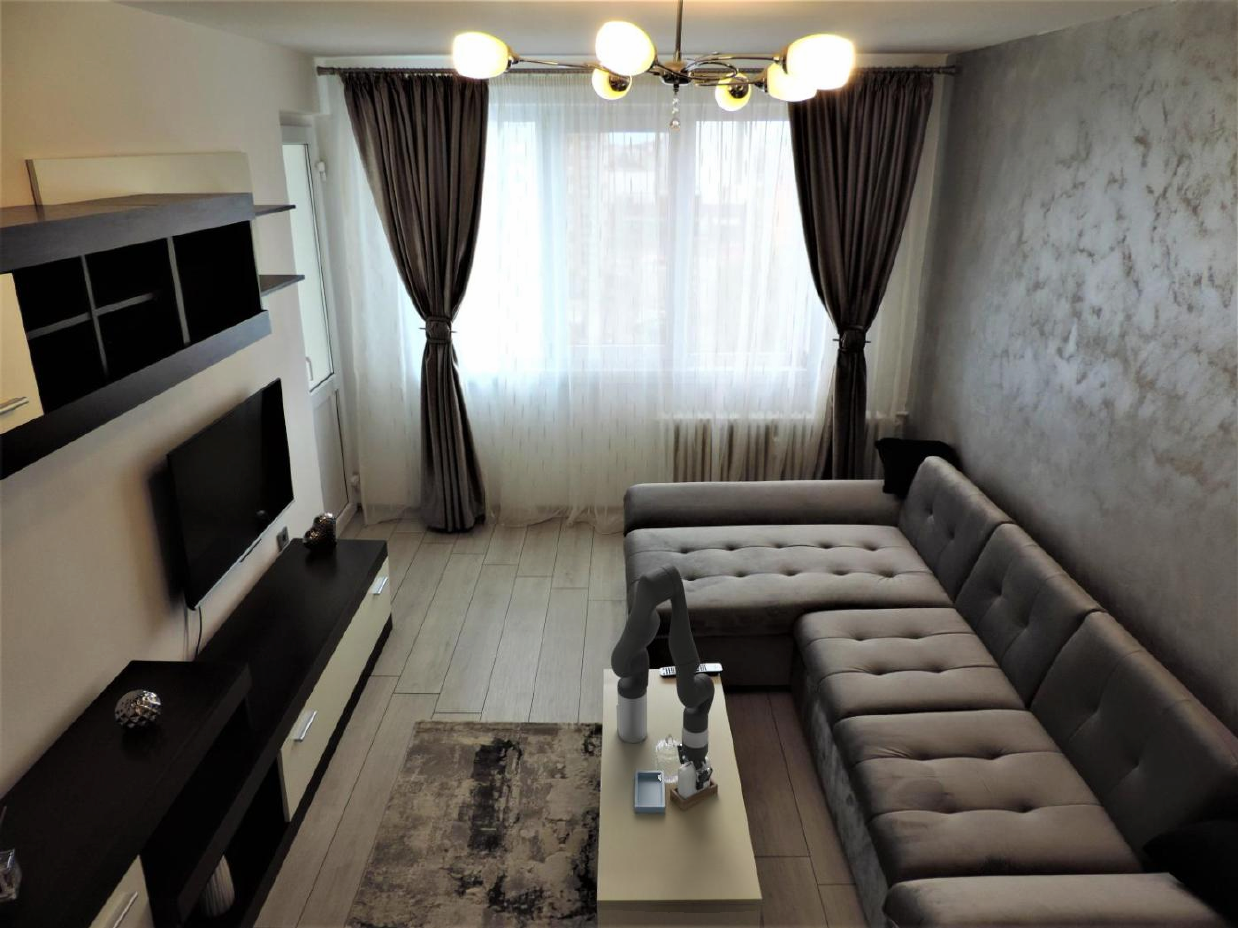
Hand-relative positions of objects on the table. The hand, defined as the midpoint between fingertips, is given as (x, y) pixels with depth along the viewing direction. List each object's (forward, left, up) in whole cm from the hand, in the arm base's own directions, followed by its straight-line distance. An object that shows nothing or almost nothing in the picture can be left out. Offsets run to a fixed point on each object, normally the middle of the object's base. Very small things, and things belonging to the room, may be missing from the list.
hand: (694, 783), depth 252 cm
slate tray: (-7, -11, -4) cm, 14 cm away
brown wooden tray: (0, 0, -4) cm, 4 cm away
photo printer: (0, 0, -4) cm, 4 cm away
